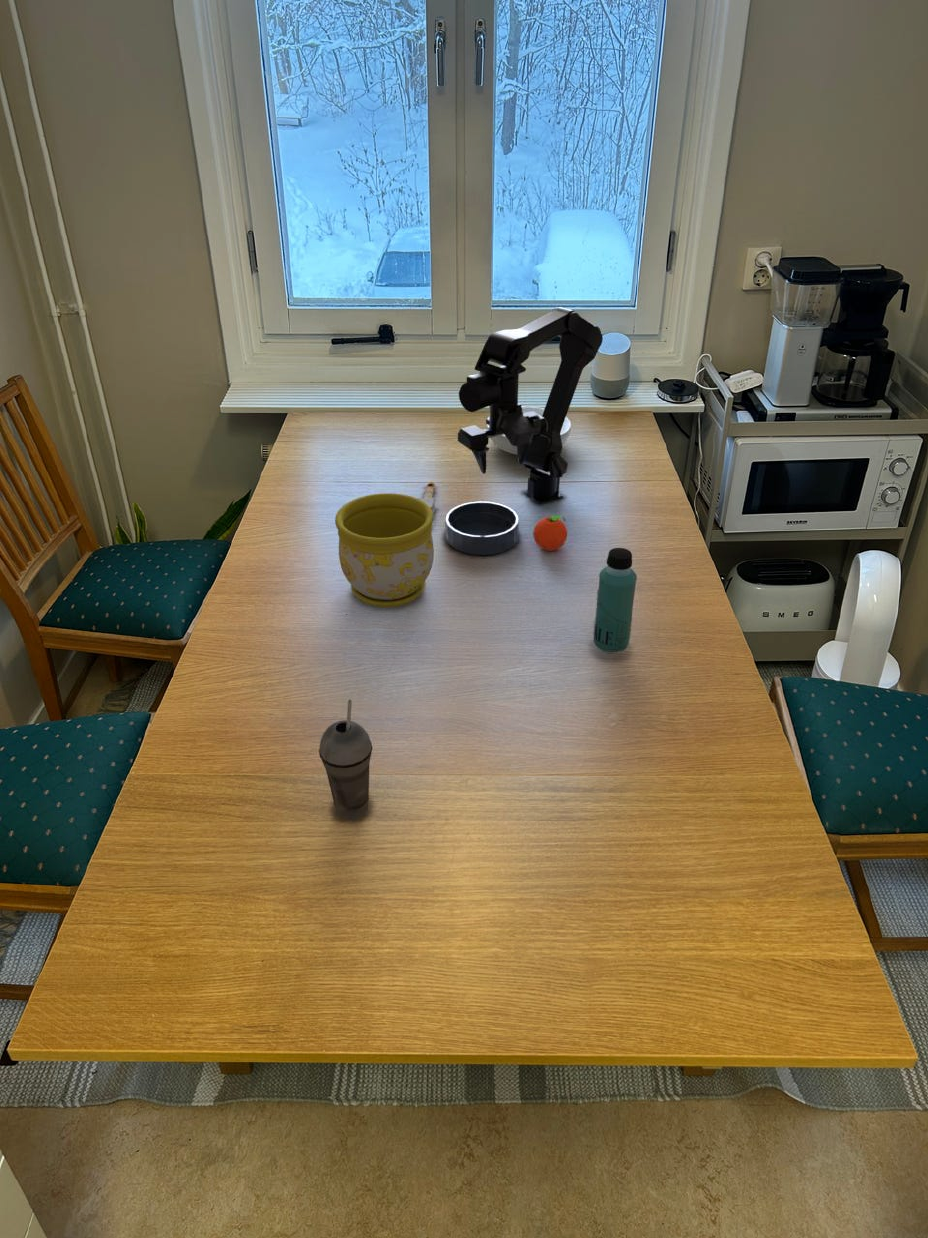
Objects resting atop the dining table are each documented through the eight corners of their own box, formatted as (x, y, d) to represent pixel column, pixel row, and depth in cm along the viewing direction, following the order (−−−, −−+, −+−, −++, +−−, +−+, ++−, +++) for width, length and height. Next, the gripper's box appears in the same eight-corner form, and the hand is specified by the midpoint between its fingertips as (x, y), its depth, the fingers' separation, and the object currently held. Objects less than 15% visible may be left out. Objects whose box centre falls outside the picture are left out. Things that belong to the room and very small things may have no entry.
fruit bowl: (493, 513, 203) (493, 495, 200) (531, 543, 192) (532, 524, 190) (433, 531, 197) (432, 512, 194) (469, 563, 186) (469, 544, 183)
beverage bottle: (632, 642, 164) (644, 545, 152) (624, 664, 159) (636, 565, 147) (596, 635, 166) (605, 539, 154) (587, 656, 161) (596, 558, 149)
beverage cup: (327, 791, 135) (313, 685, 123) (377, 788, 135) (368, 682, 123) (325, 829, 129) (311, 721, 117) (377, 825, 129) (368, 718, 118)
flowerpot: (322, 591, 178) (314, 516, 168) (390, 555, 188) (386, 483, 179) (386, 628, 168) (381, 551, 158) (454, 588, 178) (453, 513, 169)
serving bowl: (573, 466, 222) (574, 439, 218) (486, 466, 222) (486, 439, 218) (566, 430, 239) (567, 405, 235) (485, 430, 239) (486, 405, 235)
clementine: (551, 534, 195) (553, 504, 191) (576, 546, 191) (578, 516, 187) (525, 548, 191) (527, 518, 186) (551, 560, 187) (553, 530, 182)
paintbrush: (411, 517, 195) (423, 479, 212) (412, 529, 196) (423, 489, 213) (429, 518, 195) (439, 479, 211) (430, 529, 196) (440, 490, 213)
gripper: (485, 420, 176) (484, 493, 185) (565, 401, 183) (560, 472, 192) (456, 401, 184) (456, 472, 193) (533, 383, 191) (530, 452, 200)
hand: (502, 467), depth 194 cm, fingers open, 9 cm apart
